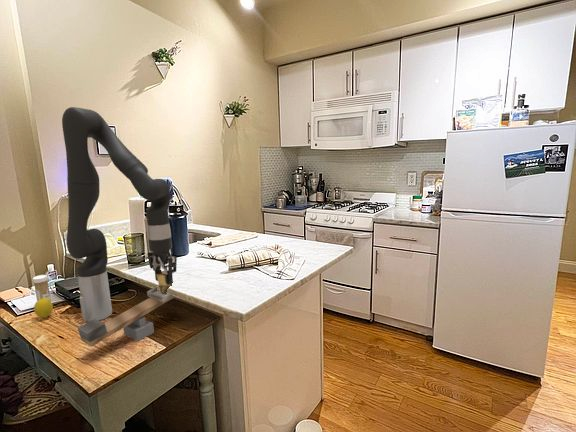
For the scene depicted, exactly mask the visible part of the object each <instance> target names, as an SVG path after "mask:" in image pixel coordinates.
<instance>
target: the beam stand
mask: <svg viewBox="0 0 576 432" xmlns="http://www.w3.org/2000/svg"><path fill="white" fill-rule="evenodd" d="M122 330H123V335H125V336H127V337H129V338H130V339H132V340H134V341H136V342H138V341H141V340H143V339H145V338H146V337H149V336H151V335H152V334H154V333H155V327H154V322H153V321H150V320H147V319H146V317H145V315H144V316H142V317H141V318H139V319H137V320H136V321H134V322H132V323H131V324H129V325H127V326H126V327H124V328H122Z"/></svg>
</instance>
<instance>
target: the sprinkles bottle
mask: <svg viewBox="0 0 576 432" xmlns="http://www.w3.org/2000/svg"><path fill="white" fill-rule="evenodd" d="M48 279H49V278H48V275H47V274H39V275H35V276H34V277H33V278H32V282H33V285H34V292H35V297H36V302H37V301H38V300H40V299H41V298H46V299H49V300H50V301H51V302H52V298H51V291H50V286H49V281H48Z"/></svg>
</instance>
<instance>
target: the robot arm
mask: <svg viewBox="0 0 576 432" xmlns="http://www.w3.org/2000/svg"><path fill="white" fill-rule="evenodd" d="M61 125H62V135H63V139H64V140H63V141H64V147H65V155H66V170H67V174H66V175H67V177H66V178H67V179H66V181H67V197H68V198H67V199H68V213H67V214H68V218H67V219H68V220H67V229H66V230H67V231H66V247H67V251H68V253H69V255H70V256H71V257H72V258H74V259H77V260H79V259H80V260H81V259H83V258H85V259H84V260H83V262H81V264H80V265H78V267H76V275H77V281H78V288H79V294H80V295H79V305H80V310H81V315H82V316H81V317H82V322H84V323H85V322H86V323H87V322H89V321H91V320H93V319H96V320H98V321H102V320H104V319H107V318H109V317H110V316H112V314H113V307H112V300H111V292H110V283H109V278H108V277H109V276H108V271H107V267H108V266H107V265H108V261H109V260H108V245H107V240H106V237H105V234H104V233H103V232H102V231H101V230H100V229H98V228H90V229H89V228H88V223H89V218H90V216H91V213H92V212H93V210H94V208H95V207H96V205H97V203H98V200H99V197H100V193H101V192H100V176H99V172H98V170H97V169H96V167H95V165H94V162H92V159H91V157H90V154H89V149H88V148H89V147H88V146H89V144H88V142H89V141H88V139H89V138H90V139H91V138H92V139H93V140H95V141H96V142H97V143H99V144H100V145H101V146H102V147H103V148H104V149H105V150H106V152H107V154H108V156H109V157H110V160H111V162H112V164H113V165H114V167H116V169H117V170H118V171H119V172H120V173H121V174H123V176H125V177H126V179H128V180H129V181H130V183H131V185H132V187H134V189H135V190H136V192H137V193H138V194H139V195H140V197H142V198H143V199H144V200H146V201H150V206H149V207H148V208H147V210H146V223H147V224H146V225H147V229H146V230H147V231H146V232H147V240H148V250H149V252H147V259H148V263H149V267H150V269H151V270H153V272H154V277H155V281H156V282H158V280H157V276H156V275H157V273H159V272H161V271H162V270H163V271H165V274H166V275H165V276H166V284H168V285H169V284H171V283H173V282H174V280H173V279H174V278H173V274H174V273H177V265H178V264H177V263H178V262H177V259H178V257H177V256H176V255H175V256H172V254H171V249H172V248H173V242H172V240H173V239H172V231H171V226H170V217H169V206H170V198H171V197H170V196H171V189H170V186H169V184H168V182H167V181H165V179H162V178H155V179H153V178H152V177H151V176H150V175H149V174H148V173H149V170H148V168H147V166H146V165H145V164H144V163H143V162H142V161H141V160H140V159H139V158H138V157H137V156H136V155H135V154H133V152H132V151H130V149H128V147H127V146H126V145H125V144H124V143H123V142H122V141H121V139H120V138H119V137H118V136H117V135H116V133H115V132H114V130H113V129H112V128H111V127H110V125H109V124H108V123H107V122H106V120H105V119H104V118H103V117H102V116H101V115H100V114H99V113H98V112H97V111H95V110H93V109H88V108H82V107H77V106H76V107H75V106H71V107H68V108H66V109H65V111H64V112H63V114H62V117H61Z"/></svg>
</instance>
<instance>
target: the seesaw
mask: <svg viewBox="0 0 576 432" xmlns="http://www.w3.org/2000/svg"><path fill="white" fill-rule="evenodd" d="M146 294H147V297H148V298H147V299H144V300H143V301H142V302H140V303H138V304H136V305H134V306H132V307H131V308H129V309H127V310H126V311H123V312H122V313H120V314H118V315H116V316H114V317H113V318H111V319H109V320H107V321H105V322H102V321H101V320H99V321H98V320H96V319H93V320H91V321H87V322H86V323H83V324H82V325H80V326H78V327H77V331H78V334H79V338H80V339H81V341H82V342H83V343H85V344H86V345H87V346H89V347H90V348H92V347H93V346H96V345H97V344H99V343H100V342H102V341H104V340H105V339H107V338H109V337H110V336H112V335H114V334H116V333H117V332H119V331H121V330H123V328H124V327H126V326H127V325H129V324H131V323H132V322H134V321H136V320H137V319H139V318H141V317H142V316H144V317H145V315H147V314H149V313H150V312H152V311H154V310H155V309H157V308H159V307H161V306H163V305H164V304H165V303H168V302H169V301H171V300H172V299H174V298H175V297H173V296H172V292H170V293H168V294H162V293H161V291H159V290H157V286H155V287H152V288H151V289H149V290H148V291H146Z"/></svg>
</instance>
